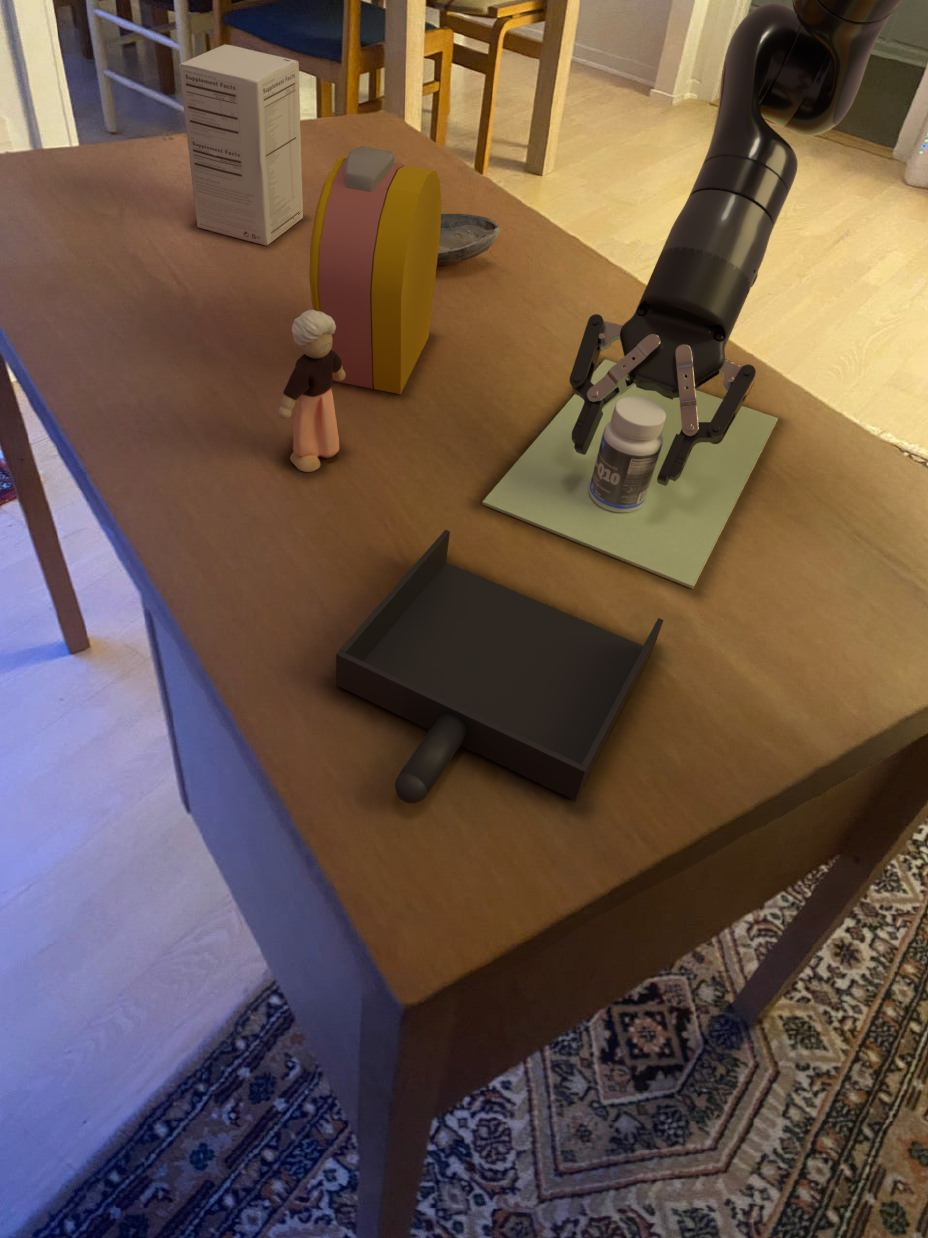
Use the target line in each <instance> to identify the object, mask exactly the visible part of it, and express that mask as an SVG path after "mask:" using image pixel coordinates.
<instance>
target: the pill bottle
mask: <svg viewBox="0 0 928 1238" xmlns="http://www.w3.org/2000/svg"><path fill="white" fill-rule="evenodd" d="M665 419H666V414H665V411H664V410H663V408H662V407H661V406H660V405H658V404H657V403H655V402H653V401H651V400H649V399H646V398H642V397H625V398H622V399H620V400H619V401H618V402H617V403H616V405H615V408H614V411H613V414H612V419H611V421H610V422H609V423H608V424H607V425H606V427H605V429H604V431H603V435H602V439H601V444H600V448H599V452H598V456H597V459H596V463H595V467H594V471H593V475H592V479H591V482H590V487H589V492H590V495H591V497H592V499H593V500H594V501H595V502H596V503H597V504H598V505H599V506H601V507H602V508H604V509H607V510H609V511H613V512H619V513H625V512H632V511H635V510H637V509H639V508H640V507H641V506H642V505H643V503H644V501H645V498H646V495H647V492H648V489H649V485H650V482H651V479H652V476H653V472H654V469H655V466H656V463H657V460H658V457H659V454H660V451H661V448H662V444H663V438H662V435H661V432H662V429H663V425H664V422H665Z"/></svg>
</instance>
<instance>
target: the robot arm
mask: <svg viewBox="0 0 928 1238" xmlns="http://www.w3.org/2000/svg"><path fill="white" fill-rule="evenodd" d="M902 1H903V0H792V7H793V8H792V7H790V6H788V5H786V4H783V3H778V2H768V3H764V4H761V5H760V6H758V7H756V8H754V9H753V10H752V11H750V12H749V13H748V14H747V15H746V16H745V17H744V18H743V19H742V21H740V23H739V24H738V26H737V27H736V29H735V30H734V32H733V34H732V37H731V38H730V41H729V43H728V46H727V48H726V53H725V56H724V61H723V66H722V71H721V77H720V85H719V93H718V103H717V109H716V110H717V111H716V117H715V120H714V121H715V122H714V126H713V132H712V136H711V139H710V143H709V147H708V150H707V153H706V155H705V158H704V160H703V163H702V165H701V168H700V170H699V172H698V175H697V177H696V179H695V181H694V184H693V186H692V188H691V191H690V193H689V196H688V197H687V199H686V202H685V204H684V206H683V207H682V209H681V210H680V212H679V213H678V215H677V216H676V218H675V221H674V222H673V225H672V226H671V229H670V231H669V233H668V236H667V238H666V240H665V242H664V245H663V247H662V249H661V251H660V253H659V256H658V259H657V261H656V262H655V265H654V268H653V270H652V273H651V274H650V277H649V280H648V282H647V284H646V286H645V289H644V291H643V293H642V295H641V298H640V300H639V302H638V305H637V307H636V309H635V312H634V313H633V315H632V316H631V317H630V319H628V320H627V321H625V323H623V324H618V323H614V322H610V321H605V320H604V318H603V316H602V315H600V314H599V313H594V314H592V315H591V316H589V318H588V320H587V323H586V326H585V330H584V332H583V335H582V339H581V342H580V345H579V347H578V351H577V354H576V357H575V360H574V363H573V366H572V370H571V372H570V376H569V384H570V386H571V388H572V391H573V392H574V395H575V394H576V395H578V396H580V397H581V398H582V399H583V400H584V405H583V407H582V410H581V412H580V414H579V417H578V419H577V421H576V424H575V426H574V428H573V430H572V441H573V443H574V444H575V446H574V448H575V450H576V452H577V453H580V454H583V455H585V454H586V453H587V451H588V448H589V446H590V444H591V441H592V439H593V437H594V434H595V432H596V430H597V427H598V425H599V423H600V421H601V418H602V416H603V412H602V409H603V408H604V407H605V406H606V405H608V404H609V403H610V402H611V401H612V400H614V399H615V398H616V397H617V396H619V395H622V394H623V393H625V392H626V391H627V390H628V389H629V388H631V387H632V386H633V385H634V384H636V387H637V388H640V389H643V390H648V391H656V392H658V393H659V394H661V395H662V396H664V397H666V398H669V399H672V400H673V398H679V401H680V412H681V422H682V429H681V431H680V434H676V435H675V438H674V440H673V442H672V444H671V447H670V449H669V451H668V454H667V456H666V458H665V460H664V463H663V465H662V467H661V470H660V472H659V474H658V477H657V482H658V483H659V484H662V485H664V486H667V484H668V482H669V480H673V481H676V480H677V479H678V478H679V477H680V475H681V473H682V471H683V469H684V466H685V464H686V462H687V459H688V457H689V455H690V452H691V450H692V448H693V447H694V446H695V445H696V444H697V443H701V442H710V443H712V444H719V443H720V442H721V441H722V440H723V438H724V436H725V435H726V433H727V431H728V429H729V428H730V426H731V424H732V422H733V420H734V419H735V417H736V415H737V413H738V412H739V410H740V408H741V406H743V404H744V403H745V401H746V399H747V397H748V396H749V394H750V392H751V390H752V388H753V387H754V384H755V380H756V374H757V370H756V368H755V366H754V365H752V364H744V365H743V366H742V365H740V364H738V363H735V362H734V361H731V360H729V359H727V358H726V353H725V349H726V346H727V344H728V341H729V339H730V337H731V335H732V332H733V330H734V328H735V326H736V324H737V322H738V321H737V320H738V318H739V316H740V314H741V312H742V309H743V307H744V305H745V303H746V301H747V300H746V299H747V298H748V296H749V293H750V291H751V288H752V287H753V286H754V285H755V283H756V280H757V278H758V276H759V271H760V268H761V266H762V263H763V261H764V258H765V255H766V252H767V250H768V249H767V248H768V245H769V242H770V238H771V236H772V233H773V230H774V228H775V225H776V223H777V221H778V219H779V217H780V214H781V212H782V209H783V207H784V205H785V202H786V200H787V199H788V196H789V194H790V192H791V189H792V186H793V184H794V182H795V179H796V176H797V172H798V164H799V163H798V162H799V161H798V158H797V157H798V156H797V154H796V152H795V150H794V148H792V146H791V145H790V143H789V142H788V141H786V139H785V138H783V137H782V136H781V135H780V134H779V133H778V132H777V131H776V130H775V129H774V128H772V127H771V125H769V123H768V122H767V121H769V122H772V123H774V124H776V125H778V126H780V127H783V128H785V129H786V130H789V131H791V132H793V133H795V134H797V135H800V136H804V137H815V136H818V135H821V134H824V133H826V132H828V131H831V130H832V129H833V128H834V127H837V125H839V124H840V122H842V120H843V119H844V118H845V116H846V115H847V114H848V112H849V111H850V109H851V108H852V106H853V104H854V101H855V99H856V97H857V95H858V92H859V89H860V87H861V84H862V81H863V78H864V75H865V73H866V69H867V66H868V64H869V59H870V57H871V54H872V52H873V49H874V47H875V44H876V42H877V40H878V38H879V36H880V34H881V33H882V31H883V29H884V27H885V25H886V24H887V22H888V20H889V19H890V18H891V16H892V15H893V13H894V12H895V10H896V9H897V8H898V6H899V5H900V4H901V2H902ZM766 120H767V121H766ZM617 341H620V344H621V349H622V353H623V357H622V358H621V359H620V360H618V361H617V362H615V363H616V364H615V365H614V366H613V367H612V368H611V369H610V370H609V371H608V373H607V374H606V375H605V376H604V377H603V378H602V379H601V380H599V381H598V382H597V383H596V384H595V385H594V384H593V383H591V379H592V376H593V373H594V371H595V370H596V367H597V363H598V360H599V359H600V358H599V357H600V354H601V352H604V351H605V352H606V351H607V350H609V349H610V347H611V346H612V344H613V343H614V342H617ZM624 367H625V368H624ZM718 375H721V376H722V377H723V380H722V391H723V392H724V393H725V395H724V397H723V398H722V399H723V401H722V402H721V404H720V406H719V408H718V410H717V411H716V413H715V415H714V417H713V419H712V420H711V422H698V416H697V405H696V393H695V390H697V389H698V388H700V387H701V386H702V385H705V383H708V382H709V381H710V380H712V379H714V378H716V377H717V376H718ZM627 379H628V380H627Z"/></svg>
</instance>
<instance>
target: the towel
mask: <svg viewBox="0 0 928 1238" xmlns="http://www.w3.org/2000/svg"><path fill="white" fill-rule="evenodd" d="M616 363H617V362H616V361H612V360H609V359H606V358H605V359H603V360H602V361H601V363H600V364H599V365H598V366H597V368H595V370H594V373H593V376H592V379H591V383H593V384H594V385H595V384H596V383H597V382H598V381H599V380H601V379H602V378H603V377H604V376H605V375H606V374H607V373H608V371H609V370H610V369H611V368H612V367H613V366H614V365H615V364H616ZM624 368H625V367H624ZM627 380H628V379H627ZM695 393H696V405H697V416H698V422H711V420H712V419H713V417H714V415H715V413H716V411H717V410H718V408H719V406H720V404H721V402H722V401H723V399H724V398H722V397H721V398H720V397H718V396H715V395H711V394H709V393H706V392H703V391H701V390H697V389H695ZM625 397H642V398H646V399H649V400H651V401H653V402H655V403H657V404H658V405H660V406H661V407H662V408H663V410H664V411H665V414H666V419H665V422H664V425H663V429H662V432H661V435H662V438H663V444H662V448H661V451H660V454H659V457H658V460H657V463H656V466H655V469H654V472H653V476H652V479H651V482H650V485H649V489H648V492H647V495H646V498H645V501H644V503H643V505H642V506H641V507H640V508H639V509H637V510H635V511H632V512H625V513H619V512H613V511H609V510H607V509H604V508H602V507H601V506H599V505H598V504H597V503H596V502H595V501H594V500H593V499H592V497H591V495H590V492H589V487H590V482H591V479H592V475H593V471H594V467H595V463H596V459H597V456H598V452H599V448H600V444H601V439H602V435H603V431H604V429H605V427H606V425H607V424H608V423H609V422H610V421H611V419H612V414H613V411H614V408H615V405H616V403H617V402H618V401H619V400H620V399H622V398H625ZM583 405H584V400H583V399H582V398H581V397H580V396H578V395H576V394H575V393H574V395H573V396H571V398H570V399H569V400H568V401H567V402H566V404H564V405H563V407H562V408H561V409H560V411H559V412H558V413H557V414H556V416H554V418H553V419H552V420H551V421H550V422H549V423H548V425H547V426H546V427H545V428H544V429H543V430H542V432H541V433H540V434H539V435H538V436H537V437H536V438H535V440H534V441H533V442H532V443H531V444H530V446H528V448H527V449H526V450H525V451H524V453H522V455H521V456H520V457H519V458H518V459H517V460H516V462H515V463H514V464H513V465H512V466H511V468H510V469H509V470H508V471H507V472H506V473H505V474H504V476H503V477H501V479H500V480H499V481H498V483H497V484H496V485H495V486H494V487H493V489H492V490H491V491H490V492H489V493H488V494H487V496H486V497H485V498H484V499H483V500H482V502H481V505H483V506H485V507H488V508H490V509H492V510H494V511H498V512H500V513H503V514H505V515H508V516H510V517H512V518H515V519H517V520H519V521H520V520H521V521H522V522H524V523H528V524H529V525H532V526H534V527H537V528H540V529H543V530H544V531H547V532H550V533H552V534H554V535H558V536H560V537H562V538H564V539H567V540H569V541H571V542H574V543H577V544H579V545H582V546H584V547H588V548H589V549H592V550H594V551H597V552H600V553H602V554H605V555H607V556H609V557H612V558H615V559H617V560H618V561H619V560H620V561H622V562H624V563H626V564H629V565H632V566H634V567H637V568H639V569H642V570H644V571H647V572H650V573H652V574H654V575H656V576H659V577H662V578H664V579H667V580H669V581H672V582H674V583H677V584H679V585H682V586H684V587H686V588H689V589H692V590H693V589H694V588H695V586H696V584H697V582H698V580H699V578H700V575H701V574H702V572H703V571H704V568H705V566H706V564H707V562H708V560H709V558H710V556H711V555H712V552H713V550H714V548H715V545H716V544H717V542H718V539H719V538H720V537H721V534H722V531H723V530H724V528H725V526H726V524H727V521H728V520H729V518H730V516H731V514H732V512H733V511H734V508H735V506H736V504H737V502H738V500H739V498H740V496H741V494H742V492H743V490H744V488H745V486H746V484H747V482H748V481H749V478H750V476H751V474H752V472H753V470H754V469H755V466H756V464H757V462H758V460H759V458H760V456H761V454H762V452H763V451H764V448H765V446H766V444H767V442H768V440H769V438H770V436H771V434H772V432H773V430H774V428H775V426H776V424H777V422H778V420H779V417H776V416H773V415H770V414H767V413H764V412H761V411H758V410H756V409H752V408H750V407H747V406H744V405H742V406H741V408H740V410H739V412H738V413H737V415H736V417H735V419H734V420H733V422H732V424H731V426H730V428H729V429H728V431H727V433H726V435H725V436H724V438H723V440H722V441H721V442H720V443H719V444H712V443H710V442H701V443H697V444H696V445H695V446H694V447H693V448H692V450H691V452H690V455H689V457H688V459H687V462H686V464H685V466H684V469H683V471H682V473H681V475H680V477H679V478H678V479H677V480H676V481H673V480H669V482H668V484H667V486H664V485H662V484H659V483H658V482H657V477H658V474H659V472H660V470H661V467H662V465H663V463H664V460H665V458H666V456H667V454H668V451H669V449H670V447H671V444H672V442H673V440H674V438H675V435H676V434H680V431H681V429H682V422H681V412H680V401H679V398H673V400H672V399H669V398H666V397H664V396H662V395H661V394H659V393H658V392H656V391H648V390H643V389H640V388H637V387H636V384H634V385H633V386H632V387H631V388H629V389H628V390H627V391H626V392H625V393H623V394H622V395H619V396H617V397H616V398H615V399H614V400H612V401H611V402H610V403H609V404H608V405H606V406H605V407H604V408H603V409H602V412H603V416H602V418H601V421H600V423H599V425H598V427H597V430H596V432H595V434H594V437H593V439H592V441H591V444H590V446H589V448H588V451H587V453H586V454H585V455H583V454H580V453H577V452H576V450H575V448H574V446H575V444H574V443H573V441H572V430H573V428H574V426H575V424H576V421H577V419H578V417H579V414H580V412H581V410H582V407H583Z"/></svg>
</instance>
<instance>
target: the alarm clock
mask: <svg viewBox="0 0 928 1238" xmlns="http://www.w3.org/2000/svg"><path fill="white" fill-rule="evenodd" d="M441 188H442V187H441V180H440V178H439V176H438V173H437V171H436V170H435V169H430V168H425V167H419V166H414V165H408V164H407V165H406V164H403V163H397V162H395V153H394V152H393V151H390V150H385V149H380V148H374V147H368V146H358V147H355V148H354V149H352V150H350V151H349V153H348V154H347V155H344V156H341V157H339V158H337V159H336V160H335V163H334V164H333V166H332V167H331V170H330V171H329V173H328V175H327V177H326V178H325V181H324V182H323V185H322V188H321V192H320V195H319V197H318V202H317V205H316V208H315V212H314V219H313V226H312V232H311V237H310V238H311V239H310V246H309V270H308V271H309V273H308V278H309V287H310V298H311V305H312V308H313V309H312V310H315V311H320V312H323V313H325V314H326V315H328V316H330V317H331V318H332V319H333V320H334V322H335V325H336V329H335V332H334V333H333V334H332V341H333V343H332V348H331V350H332V351H334V352H336V353H337V354H338V356H339V357H340V358H341V361H342V366H343V370H344V371H345V374H346V375H345V378H344V380H342V381H336V380H335V379H334V378H333V374H332V382H337V383H341V384H347V385H351V386H357V387H360V388H361V387H362V388H365V389H366V388H367V389H372V390H373V389H374V390H377V391H381V392H386V393H390V394H391V393H392V394H397V395H402V392H403V390H404V389H405V387H406V384H407V383H408V380H409V378H410V376H411V374H412V372H413V370H414V369H415V366H416V365H417V362H418V360H419V358H420V356H421V354H422V352H423V350H424V348H425V346H426V344H427V342H428V339H429V337H430V330H431V321H432V311H433V302H434V294H435V293H434V292H435V285H436V284H435V283H436V277H437V267H438V264H437V258H438V249H439V240H440V231H441V214H442V203H443V200H442V189H441Z"/></svg>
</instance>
